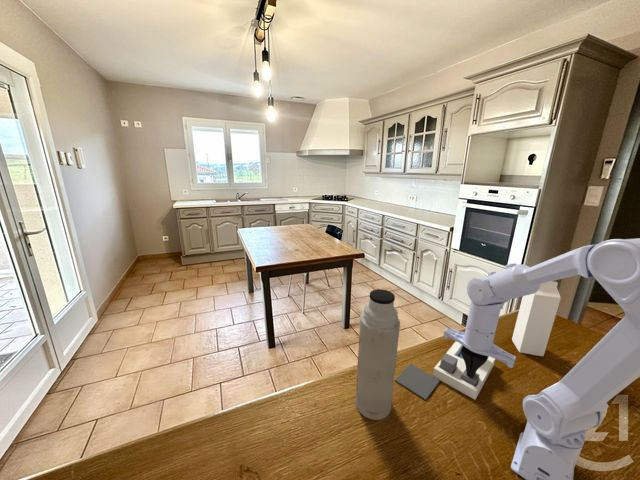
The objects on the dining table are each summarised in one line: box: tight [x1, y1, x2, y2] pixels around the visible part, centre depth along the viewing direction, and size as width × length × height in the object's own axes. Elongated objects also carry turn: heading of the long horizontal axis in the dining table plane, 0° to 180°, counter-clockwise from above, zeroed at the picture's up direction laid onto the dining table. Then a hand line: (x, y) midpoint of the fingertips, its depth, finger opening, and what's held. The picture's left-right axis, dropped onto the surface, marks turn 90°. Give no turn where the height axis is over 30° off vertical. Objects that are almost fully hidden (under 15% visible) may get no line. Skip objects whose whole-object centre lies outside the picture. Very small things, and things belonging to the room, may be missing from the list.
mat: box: [394, 363, 441, 402], centre depth 67 cm, size 8×8×1 cm
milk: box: [511, 281, 562, 357], centre depth 76 cm, size 6×6×22 cm
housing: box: [432, 341, 496, 401], centre depth 70 cm, size 16×10×2 cm, turn 134°
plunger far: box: [440, 352, 458, 374], centre depth 68 cm, size 3×3×3 cm
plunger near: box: [461, 369, 480, 387], centre depth 64 cm, size 3×3×3 cm
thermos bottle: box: [355, 288, 401, 421], centre depth 56 cm, size 8×8×28 cm
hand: (470, 374), depth 64 cm, fingers closed, pressing on plunger near
